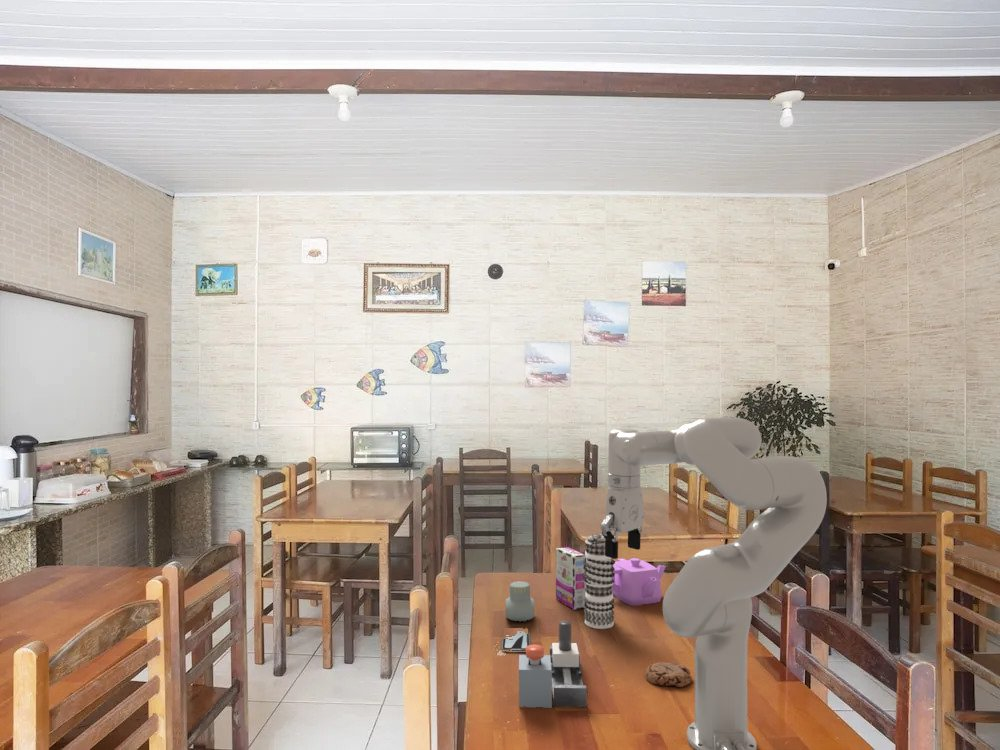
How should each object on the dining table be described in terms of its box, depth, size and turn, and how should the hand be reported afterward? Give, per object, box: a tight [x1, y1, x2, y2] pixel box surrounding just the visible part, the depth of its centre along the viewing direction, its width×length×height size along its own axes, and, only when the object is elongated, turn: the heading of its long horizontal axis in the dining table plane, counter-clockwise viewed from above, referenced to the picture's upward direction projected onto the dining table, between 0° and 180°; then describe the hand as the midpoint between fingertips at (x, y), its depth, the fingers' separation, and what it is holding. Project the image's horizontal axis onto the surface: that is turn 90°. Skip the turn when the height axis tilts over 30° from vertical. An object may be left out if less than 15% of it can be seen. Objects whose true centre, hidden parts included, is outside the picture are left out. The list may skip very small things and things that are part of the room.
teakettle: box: [612, 557, 666, 606], centre depth 193 cm, size 17×17×12 cm
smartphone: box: [501, 629, 531, 651], centre depth 161 cm, size 7×1×15 cm
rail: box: [549, 646, 588, 708], centre depth 138 cm, size 20×7×4 cm, turn 178°
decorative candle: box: [583, 533, 616, 630], centre depth 173 cm, size 9×9×25 cm
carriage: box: [549, 620, 583, 673], centre depth 143 cm, size 6×7×10 cm
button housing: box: [518, 654, 553, 709], centre depth 131 cm, size 7×7×8 cm
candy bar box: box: [555, 546, 586, 611], centre depth 188 cm, size 11×5×16 cm, turn 25°
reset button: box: [525, 644, 545, 665], centre depth 131 cm, size 4×4×6 cm
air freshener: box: [505, 580, 535, 623], centre depth 176 cm, size 11×8×10 cm
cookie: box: [645, 662, 693, 688], centre depth 140 cm, size 10×11×3 cm
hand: (622, 552), depth 142 cm, fingers open, 9 cm apart
